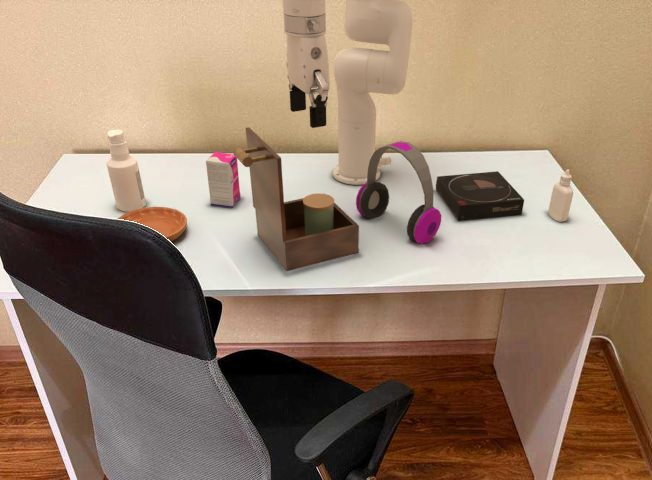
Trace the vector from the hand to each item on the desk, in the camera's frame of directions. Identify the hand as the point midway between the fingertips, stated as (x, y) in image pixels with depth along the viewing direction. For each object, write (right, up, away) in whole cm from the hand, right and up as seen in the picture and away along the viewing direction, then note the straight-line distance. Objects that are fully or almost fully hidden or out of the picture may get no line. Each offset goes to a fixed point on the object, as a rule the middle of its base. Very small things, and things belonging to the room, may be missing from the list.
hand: (308, 118), depth 130 cm
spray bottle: (-45, -11, +29) cm, 55 cm away
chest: (-2, -23, +16) cm, 28 cm away
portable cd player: (+39, -9, +35) cm, 53 cm away
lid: (-8, -12, +3) cm, 15 cm away
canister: (+1, -21, +17) cm, 27 cm away
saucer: (-37, -20, +19) cm, 46 cm away
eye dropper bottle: (+58, -14, +30) cm, 66 cm away
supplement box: (-23, -9, +32) cm, 41 cm away
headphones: (+18, -18, +24) cm, 35 cm away
